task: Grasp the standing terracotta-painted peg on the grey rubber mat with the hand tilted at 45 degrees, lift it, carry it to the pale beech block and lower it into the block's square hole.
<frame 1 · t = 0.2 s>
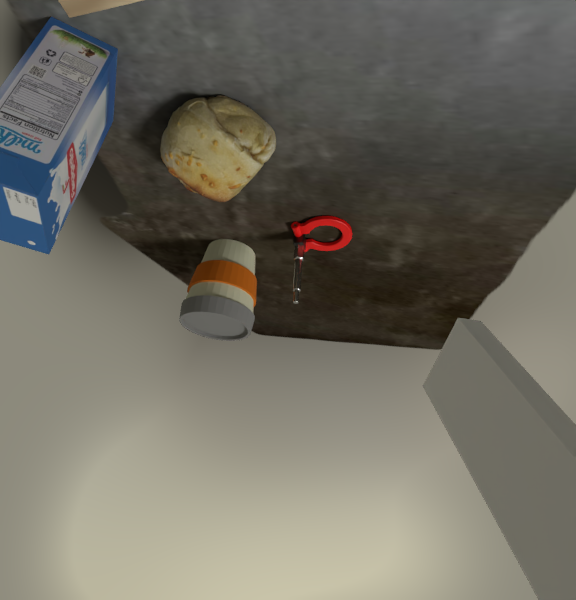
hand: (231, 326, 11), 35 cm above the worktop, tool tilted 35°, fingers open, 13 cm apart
reusable coffee cup: (231, 252, 71), on the worktop
tow hook: (323, 230, 63), on the worktop
pastry: (221, 135, 48), on the worktop
milk carton: (86, 73, 42), on the worktop
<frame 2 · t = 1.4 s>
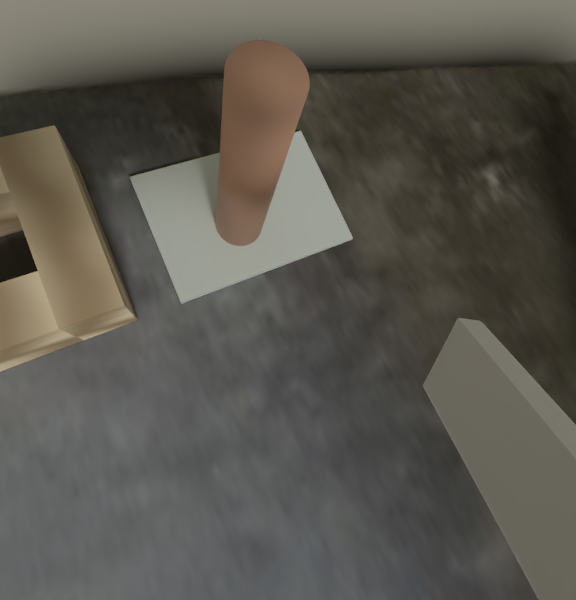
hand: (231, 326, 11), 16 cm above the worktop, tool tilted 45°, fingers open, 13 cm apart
hole block: (13, 270, 25), on the worktop
mat: (245, 211, 29), on the worktop
peg: (239, 224, 28), resting on mat
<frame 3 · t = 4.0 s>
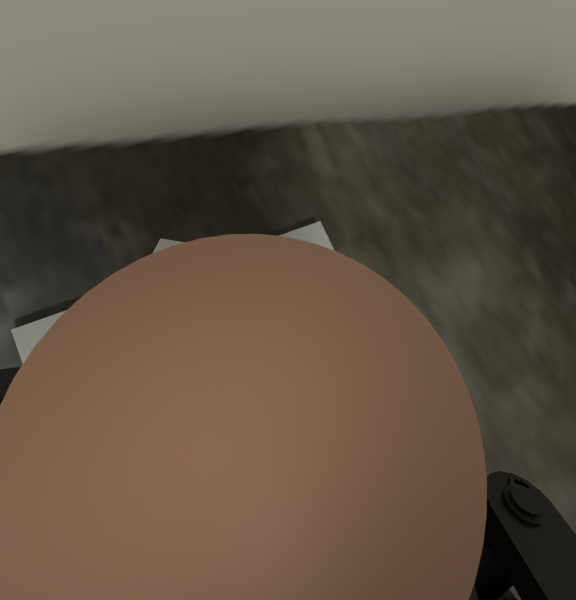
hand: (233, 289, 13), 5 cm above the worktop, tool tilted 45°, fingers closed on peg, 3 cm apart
mat: (226, 374, 17), on the worktop
peg: (214, 406, 16), resting on mat, touching gripper
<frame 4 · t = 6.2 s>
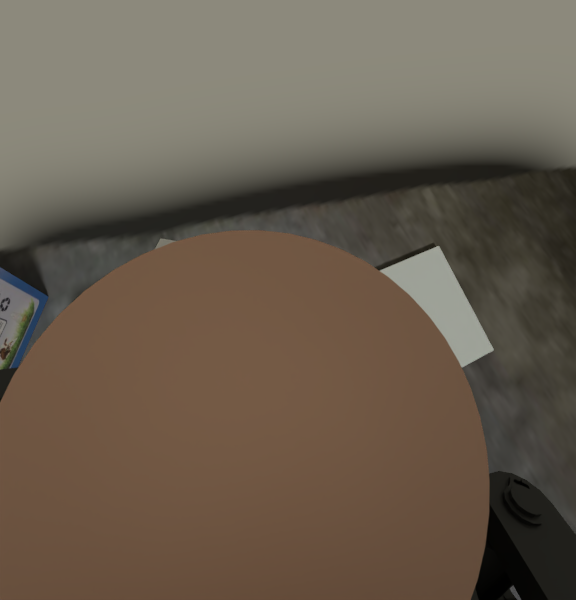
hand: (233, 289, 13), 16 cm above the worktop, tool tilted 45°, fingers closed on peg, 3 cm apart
mat: (398, 329, 31), on the worktop
peg: (214, 405, 16), point 12 cm above the worktop, touching gripper
when the fingers open (7 cm above the worktop, at t = 8.6 s): peg drops 2 cm, resting in hole block.
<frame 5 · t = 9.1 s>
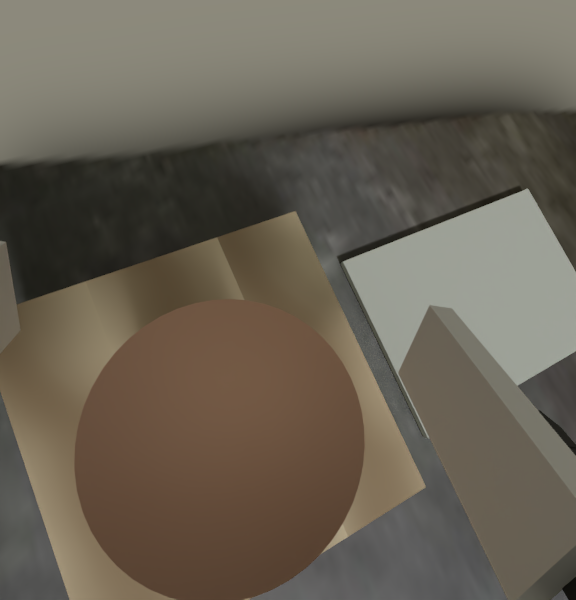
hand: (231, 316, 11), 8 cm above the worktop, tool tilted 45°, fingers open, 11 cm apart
hole block: (213, 404, 18), on the worktop
mat: (479, 300, 22), on the worktop
peg: (212, 405, 18), resting in hole block
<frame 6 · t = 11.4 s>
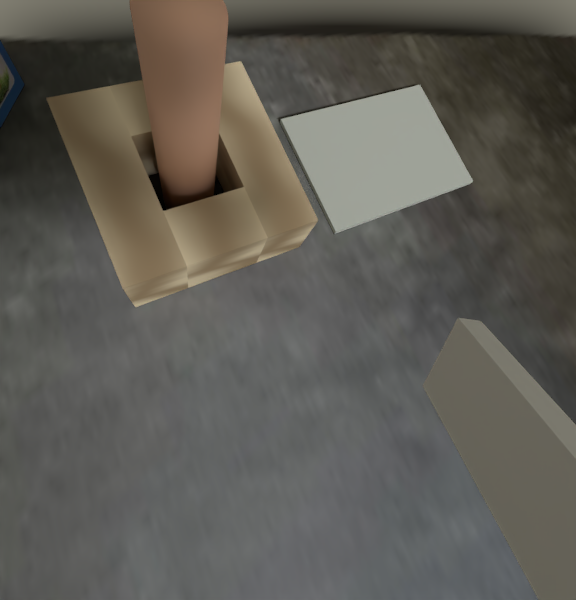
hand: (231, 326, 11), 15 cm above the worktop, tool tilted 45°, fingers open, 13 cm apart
hole block: (189, 198, 27), on the worktop
mat: (379, 154, 32), on the worktop
peg: (188, 199, 27), resting in hole block
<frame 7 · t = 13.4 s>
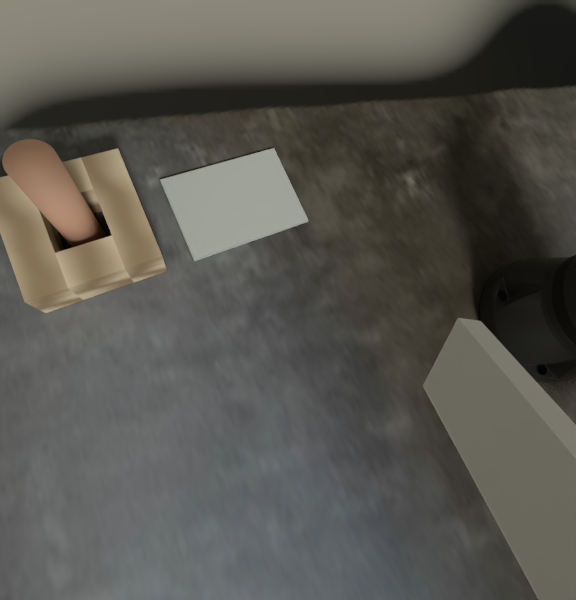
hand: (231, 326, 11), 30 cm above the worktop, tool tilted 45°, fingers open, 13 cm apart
hole block: (88, 238, 40), on the worktop
mat: (236, 202, 44), on the worktop
peg: (88, 238, 40), resting in hole block
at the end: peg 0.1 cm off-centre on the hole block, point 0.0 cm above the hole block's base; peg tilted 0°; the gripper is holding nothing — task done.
